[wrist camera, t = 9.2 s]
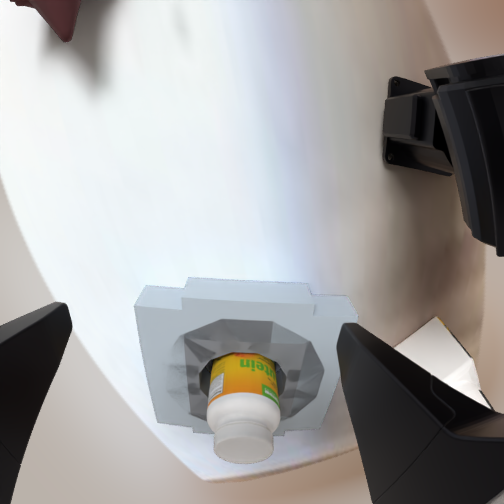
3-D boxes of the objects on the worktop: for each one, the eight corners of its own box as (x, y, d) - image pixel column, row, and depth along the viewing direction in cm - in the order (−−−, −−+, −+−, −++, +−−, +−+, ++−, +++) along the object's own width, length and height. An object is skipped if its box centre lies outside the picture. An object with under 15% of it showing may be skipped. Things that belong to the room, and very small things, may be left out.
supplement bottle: (286, 351, 26) (301, 443, 17) (253, 387, 27) (256, 473, 18) (232, 326, 25) (227, 421, 16) (202, 366, 26) (190, 455, 17)
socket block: (349, 284, 23) (361, 304, 20) (313, 413, 29) (317, 434, 26) (144, 273, 23) (132, 293, 20) (164, 406, 29) (158, 428, 26)
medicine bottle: (452, 350, 27) (504, 426, 16) (401, 388, 29) (440, 471, 18) (436, 313, 25) (503, 398, 14) (377, 357, 26) (424, 455, 15)
